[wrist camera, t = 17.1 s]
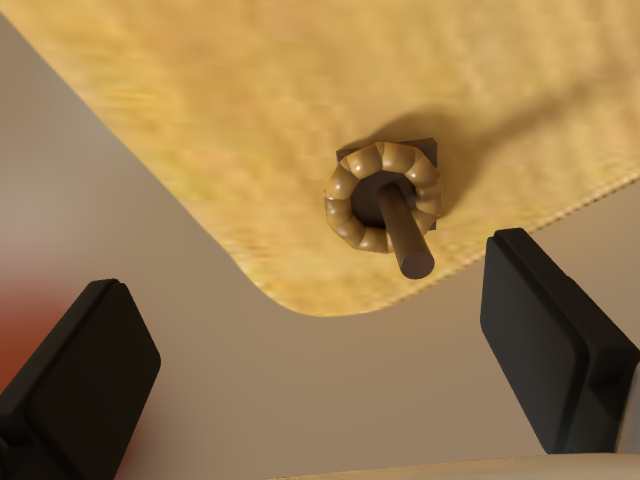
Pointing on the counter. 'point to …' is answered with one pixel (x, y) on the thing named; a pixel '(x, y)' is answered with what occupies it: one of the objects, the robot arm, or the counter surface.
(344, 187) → the ring
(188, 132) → the counter surface
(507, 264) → the robot arm
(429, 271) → the peg
